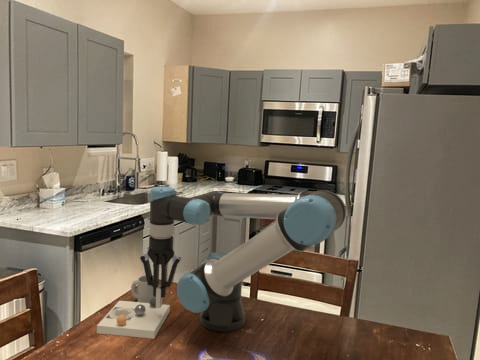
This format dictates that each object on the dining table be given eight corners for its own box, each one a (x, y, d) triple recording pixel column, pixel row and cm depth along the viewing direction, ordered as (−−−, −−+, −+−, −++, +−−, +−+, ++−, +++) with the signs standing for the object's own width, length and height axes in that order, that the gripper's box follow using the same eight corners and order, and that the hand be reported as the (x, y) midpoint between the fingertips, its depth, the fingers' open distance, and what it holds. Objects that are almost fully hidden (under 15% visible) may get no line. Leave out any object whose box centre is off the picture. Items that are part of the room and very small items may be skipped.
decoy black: (159, 304, 140) (159, 296, 140) (156, 308, 137) (157, 300, 137) (150, 304, 140) (151, 295, 140) (148, 307, 137) (148, 299, 137)
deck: (169, 311, 141) (169, 305, 140) (154, 338, 123) (154, 330, 122) (119, 307, 142) (119, 300, 142) (96, 333, 124) (96, 325, 124)
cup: (153, 307, 143) (154, 283, 142) (126, 304, 145) (127, 280, 143) (160, 299, 150) (161, 276, 149) (135, 296, 152) (135, 273, 150)
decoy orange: (128, 322, 127) (128, 313, 126) (124, 327, 124) (124, 318, 123) (118, 321, 127) (118, 312, 126) (114, 326, 124) (115, 317, 124)
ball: (146, 313, 134) (147, 303, 133) (143, 318, 130) (143, 307, 130) (136, 312, 134) (136, 302, 133) (132, 317, 130) (133, 306, 130)
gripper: (184, 234, 131) (181, 302, 134) (145, 230, 132) (143, 299, 135) (178, 240, 124) (176, 313, 127) (137, 237, 125) (135, 309, 128)
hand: (159, 306), depth 131 cm, fingers closed
